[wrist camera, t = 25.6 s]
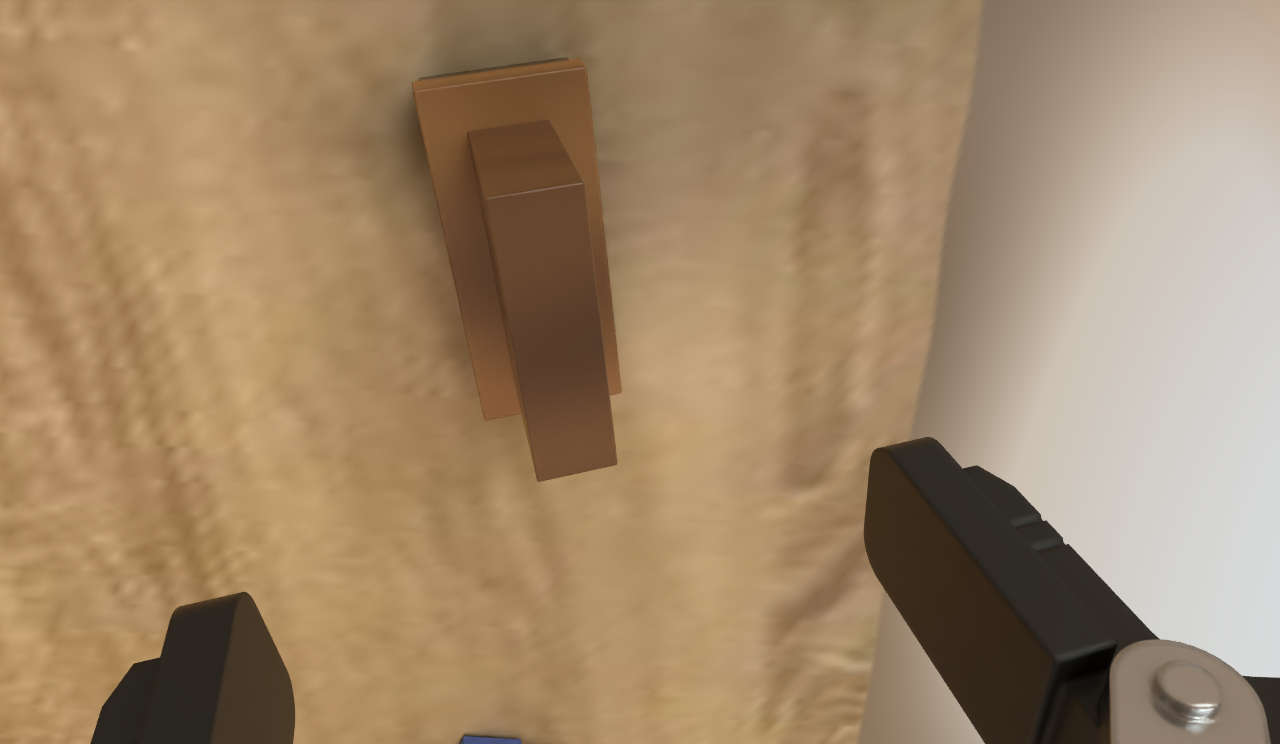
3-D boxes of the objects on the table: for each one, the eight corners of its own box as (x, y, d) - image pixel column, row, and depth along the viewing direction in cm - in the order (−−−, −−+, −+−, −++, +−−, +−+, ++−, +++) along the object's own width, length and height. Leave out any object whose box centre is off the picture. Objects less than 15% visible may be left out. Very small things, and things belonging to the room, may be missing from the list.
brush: (410, 70, 24) (417, 151, 18) (572, 48, 24) (631, 119, 18) (478, 385, 29) (502, 526, 23) (608, 359, 30) (662, 490, 24)
